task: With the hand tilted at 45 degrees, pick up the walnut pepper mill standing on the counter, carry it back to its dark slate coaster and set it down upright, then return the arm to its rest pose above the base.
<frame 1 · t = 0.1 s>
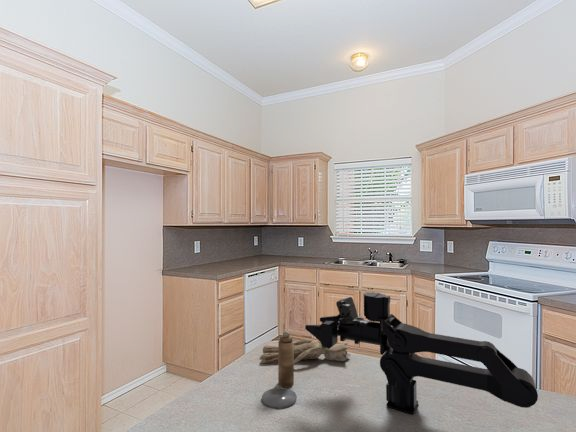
hand: (313, 323, 97), 17 cm above the countertop, tool horizontal, fingers open, 9 cm apart
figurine: (306, 359, 112), on the countertop
coaster: (279, 398, 86), on the countertop
pepper mill: (286, 383, 94), on the countertop
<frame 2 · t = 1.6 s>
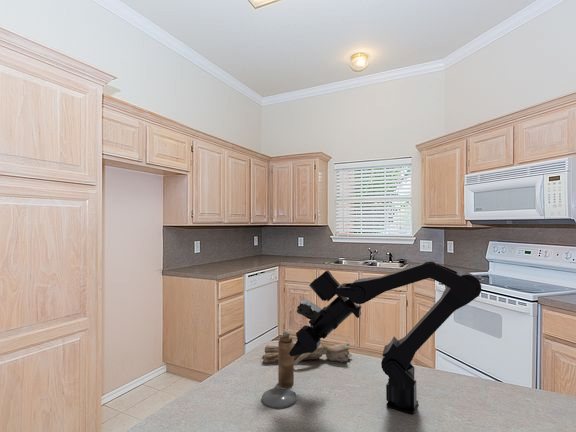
hand: (295, 348, 94), 10 cm above the countertop, tool tilted 45°, fingers open, 9 cm apart
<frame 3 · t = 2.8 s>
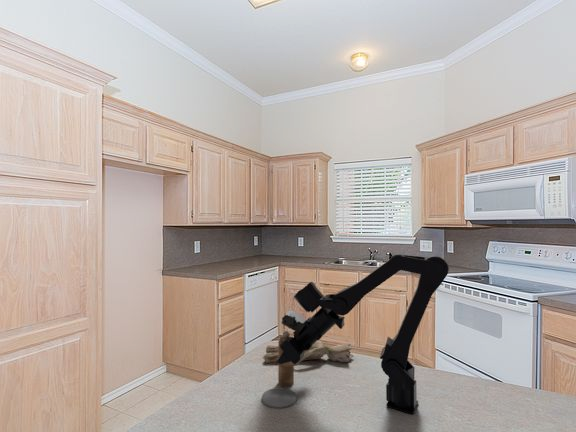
hand: (281, 359, 95), 7 cm above the countertop, tool tilted 45°, fingers closed on pepper mill, 4 cm apart
pepper mill: (285, 383, 94), on the countertop, touching gripper
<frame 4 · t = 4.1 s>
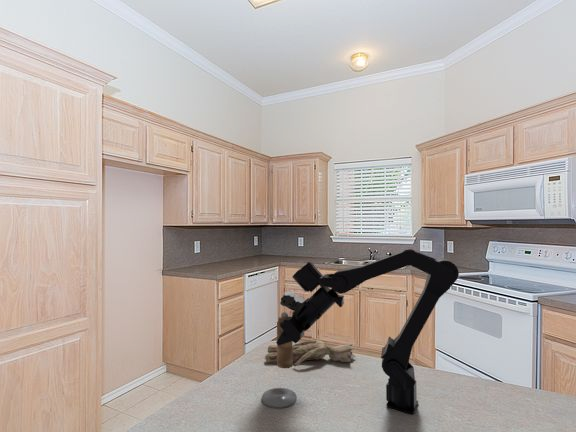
hand: (280, 341, 94), 12 cm above the countertop, tool tilted 45°, fingers closed on pepper mill, 4 cm apart
pepper mill: (284, 365, 93), point 6 cm above the countertop, touching gripper
when the fingers open (8 cm above the countertop, at t = 5.7 s): pepper mill stays where it is, resting on coaster.
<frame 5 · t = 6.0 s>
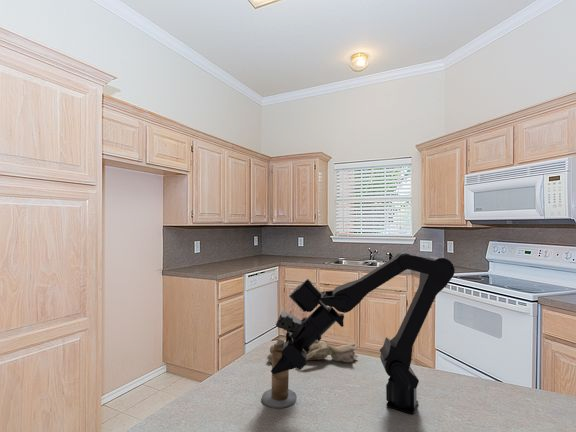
hand: (274, 366, 86), 8 cm above the countertop, tool tilted 45°, fingers open, 8 cm apart
pepper mill: (279, 396, 86), point 1 cm above the countertop, touching coaster
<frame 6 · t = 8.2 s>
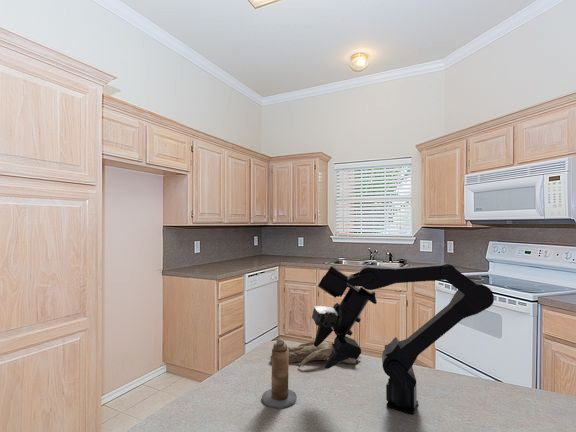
hand: (320, 356, 88), 10 cm above the countertop, tool tilted 30°, fingers open, 9 cm apart
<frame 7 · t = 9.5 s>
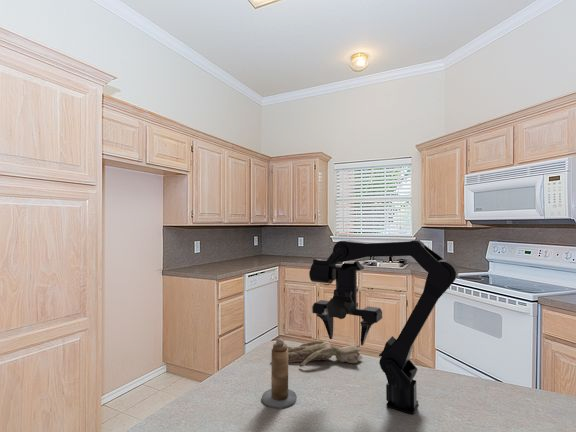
hand: (346, 341, 91), 13 cm above the countertop, tool pointing down, fingers open, 9 cm apart
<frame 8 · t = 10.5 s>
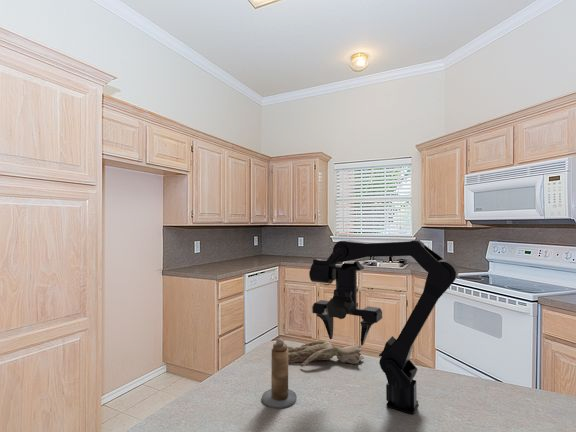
hand: (346, 341, 91), 13 cm above the countertop, tool pointing down, fingers open, 9 cm apart
at the end: pepper mill 0.1 cm from the coaster (horizontally); pepper mill tilted 0°; the gripper is holding nothing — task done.
